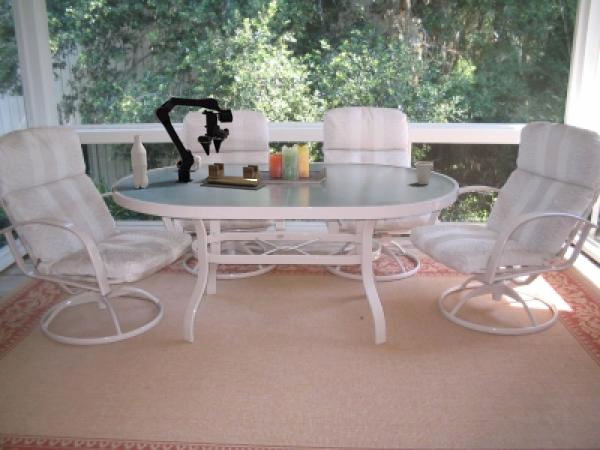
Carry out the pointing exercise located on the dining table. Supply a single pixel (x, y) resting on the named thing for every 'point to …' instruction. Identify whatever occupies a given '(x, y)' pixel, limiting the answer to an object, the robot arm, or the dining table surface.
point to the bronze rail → (232, 181)
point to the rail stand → (248, 173)
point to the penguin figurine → (196, 162)
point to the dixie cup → (423, 172)
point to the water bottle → (139, 163)
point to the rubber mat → (234, 186)
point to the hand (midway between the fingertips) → (212, 154)
